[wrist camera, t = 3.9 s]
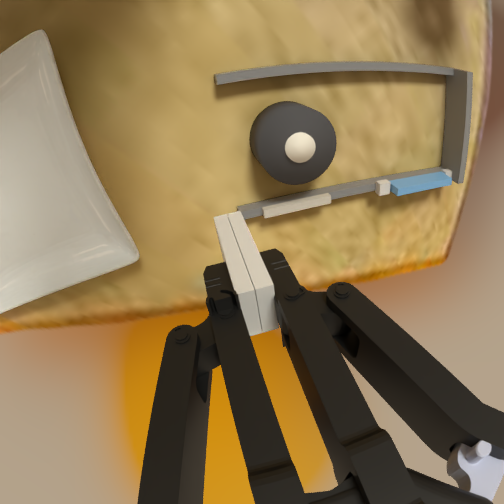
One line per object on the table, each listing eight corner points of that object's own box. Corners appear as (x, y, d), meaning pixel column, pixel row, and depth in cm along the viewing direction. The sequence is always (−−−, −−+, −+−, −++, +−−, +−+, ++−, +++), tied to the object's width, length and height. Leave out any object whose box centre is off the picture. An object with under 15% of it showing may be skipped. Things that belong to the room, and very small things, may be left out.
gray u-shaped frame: (238, 216, 37) (246, 234, 33) (213, 74, 27) (219, 75, 24) (445, 173, 40) (462, 184, 37) (451, 67, 31) (472, 72, 27)
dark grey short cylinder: (254, 177, 34) (265, 193, 31) (244, 107, 30) (255, 114, 26) (321, 164, 35) (339, 178, 32) (317, 97, 31) (336, 103, 27)
